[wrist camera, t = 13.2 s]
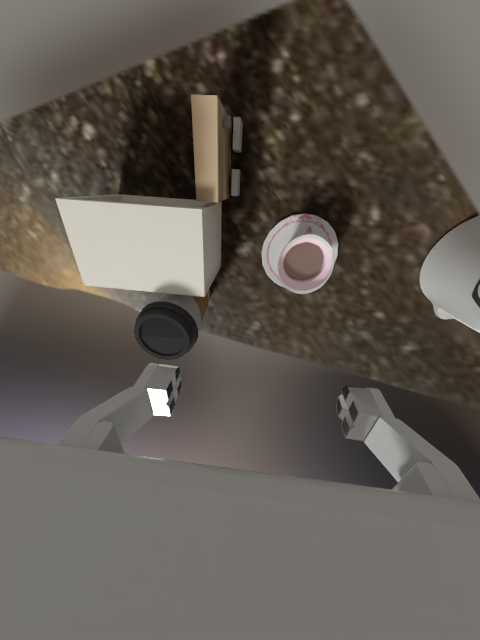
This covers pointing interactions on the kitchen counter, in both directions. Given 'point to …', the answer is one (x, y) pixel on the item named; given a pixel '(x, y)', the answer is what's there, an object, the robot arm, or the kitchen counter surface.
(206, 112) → the door
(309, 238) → the teacup
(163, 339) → the coffee cup
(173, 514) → the robot arm
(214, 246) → the cabinet
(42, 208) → the kitchen counter surface
